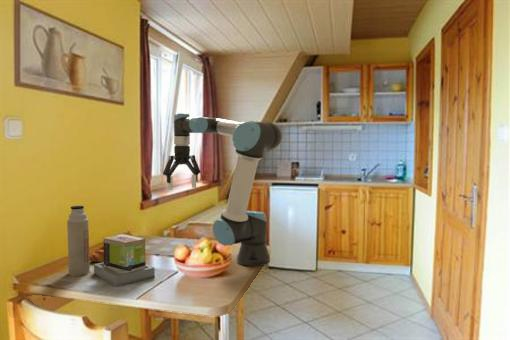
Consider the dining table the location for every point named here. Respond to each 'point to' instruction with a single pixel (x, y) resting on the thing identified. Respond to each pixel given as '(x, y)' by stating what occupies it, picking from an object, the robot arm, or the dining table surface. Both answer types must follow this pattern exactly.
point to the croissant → (97, 255)
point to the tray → (123, 275)
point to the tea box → (124, 253)
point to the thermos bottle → (78, 242)
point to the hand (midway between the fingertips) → (182, 188)
